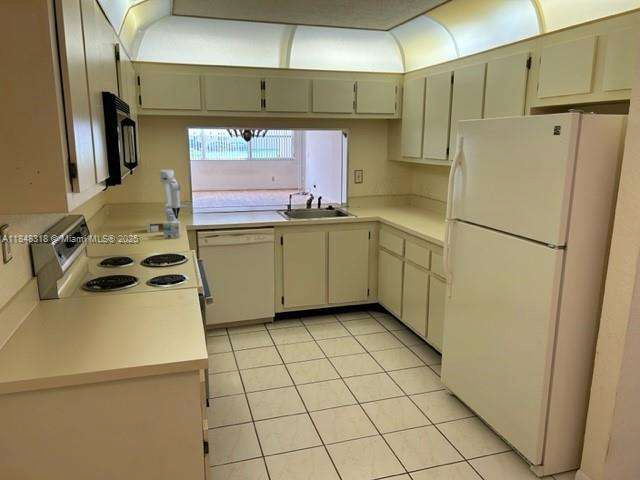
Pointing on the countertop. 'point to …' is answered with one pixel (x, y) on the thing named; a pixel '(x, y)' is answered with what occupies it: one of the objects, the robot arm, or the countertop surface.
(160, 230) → the shelf
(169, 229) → the light bulb box
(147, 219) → the bookend
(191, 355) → the countertop surface
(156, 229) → the book
